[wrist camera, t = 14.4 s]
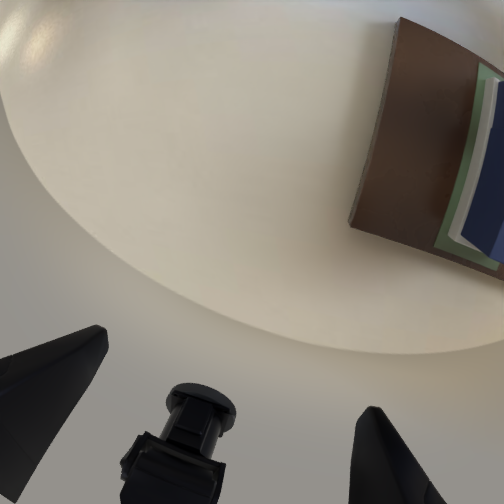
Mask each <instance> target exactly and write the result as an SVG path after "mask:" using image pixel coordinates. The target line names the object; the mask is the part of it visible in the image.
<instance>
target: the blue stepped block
mask: <svg viewBox="0 0 504 504" xmlns="http://www.w3.org/2000/svg"><path fill="white" fill-rule="evenodd" d="M448 236H449V237H450V238H451V239H453V240H454V241H455V242H458V243H460V244H463V245H465V246H468V247H470V248H472V249H475V250H477V251H480V252H482V253H484V254H485V255H486V256H487V257H488V258H490V259H493V260H495V261H497V262H499V263H502V264H504V81H500V80H499V79H497V78H496V77H492V78H488V79H486V81H485V90H484V97H483V104H482V111H481V117H480V122H479V127H478V132H477V137H476V142H475V146H474V150H473V155H472V159H471V163H470V166H469V170H468V174H467V177H466V181H465V184H464V188H463V191H462V194H461V197H460V200H459V203H458V206H457V209H456V212H455V215H454V218H453V221H452V224H451V226H450V229H449V232H448Z"/></svg>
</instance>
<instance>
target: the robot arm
mask: <svg viewBox="0 0 504 504" xmlns="http://www.w3.org/2000/svg"><path fill="white" fill-rule="evenodd" d="M108 348H109V344H108V335H107V330H106V329H105V328H103V327H101V326H99V325H93V326H90V327H87V328H85V329H82V330H79V331H77V332H74V333H71V334H69V335H66V336H63V337H60V338H57V339H55V340H52V341H50V342H46V343H44V344H41V345H38V346H35V347H33V348H30V349H27V350H24V351H21V352H19V353H16V354H13V356H12V355H10V356H7V357H4V358H2V359H0V494H1V495H3V496H4V497H6V498H7V499H9V500H10V501H12V502H13V503H16V502H17V500H18V498H19V497H20V495H21V493H22V491H23V490H24V488H25V486H26V484H27V483H28V481H29V479H30V477H31V476H32V474H33V472H34V471H35V469H36V467H37V465H38V464H39V462H40V460H41V459H42V457H43V455H44V454H45V452H46V451H47V449H48V447H49V446H50V444H51V443H52V441H53V439H54V438H55V436H56V435H57V433H58V432H59V430H60V428H61V427H62V425H63V424H64V422H65V421H66V419H67V418H68V416H69V415H70V413H71V412H72V410H73V409H74V407H75V406H76V404H77V402H78V401H79V400H80V398H81V397H82V395H83V394H84V392H85V391H86V389H87V388H88V386H89V385H90V383H91V381H92V380H93V378H94V376H95V374H96V372H97V370H98V368H99V366H100V365H101V363H102V361H103V359H104V357H105V355H106V354H107V352H108ZM230 411H231V409H230V408H229V407H226V406H223V405H219V404H216V403H213V402H210V401H207V400H204V399H201V398H198V397H195V396H192V395H189V394H186V393H183V392H181V391H178V390H173V392H172V394H171V415H170V417H169V419H168V421H167V423H166V425H165V427H164V429H163V431H162V433H161V435H160V437H159V438H157V437H155V436H153V435H151V434H150V433H149V432H147V431H145V433H144V434H143V435H138V436H137V438H136V440H135V442H134V444H133V445H132V447H131V448H130V449H129V451H128V452H127V453H126V454H125V456H124V457H123V458H122V459H121V461H120V465H121V468H122V471H121V473H122V474H121V480H123V481H125V484H124V486H123V488H122V490H121V493H120V501H121V504H217V502H218V499H219V496H220V493H221V488H222V483H223V478H224V472H225V467H226V464H225V463H222V462H221V463H220V462H217V461H214V460H211V457H212V454H213V451H214V448H215V445H216V442H217V439H218V437H222V435H223V433H224V430H225V427H226V423H227V420H228V417H229V414H230ZM348 504H447V503H446V502H445V501H444V499H443V498H442V497H441V495H440V494H439V493H438V491H437V490H436V488H435V487H434V485H433V484H432V482H431V481H429V478H428V476H427V475H426V473H425V472H424V471H423V469H422V468H421V466H420V464H419V463H418V462H417V460H416V458H415V457H414V456H413V454H412V453H411V451H410V450H409V448H408V447H407V445H406V444H405V442H404V441H403V439H402V438H401V436H400V435H399V433H398V432H397V431H396V429H395V428H394V426H393V425H392V423H391V422H390V420H389V419H388V418H387V416H386V414H385V413H384V412H383V410H382V409H381V408H380V407H375V406H369V407H367V409H366V410H365V411H364V412H363V414H362V415H361V416H360V417H359V419H358V421H357V423H356V427H355V436H354V443H353V451H352V457H351V467H350V487H349V502H348Z"/></svg>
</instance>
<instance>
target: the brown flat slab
mask: <svg viewBox="0 0 504 504" xmlns="http://www.w3.org/2000/svg"><path fill="white" fill-rule="evenodd" d="M492 77H496V78H497V79H499V80H500V81H504V73H503V72H501V71H500V70H499V69H497V68H496V67H494V66H493V65H491V64H490V63H488V62H487V61H485V60H484V59H482V58H481V57H479V56H477V55H476V54H474V53H473V52H471V51H469V50H468V49H466V48H464V47H462V46H461V45H459V44H457V43H455V42H453V41H452V40H450V39H448V38H446V37H444V36H442V35H440V34H438V33H436V32H434V31H432V30H430V29H428V28H426V27H423V26H421V25H419V24H417V23H414V22H412V21H410V20H407V19H405V18H403V17H400V18H399V19H398V21H397V22H396V24H395V31H394V37H393V43H392V49H391V55H390V60H389V65H388V71H387V76H386V81H385V85H384V90H383V95H382V99H381V104H380V108H379V112H378V116H377V121H376V125H375V129H374V133H373V137H372V140H371V144H370V148H369V152H368V155H367V159H366V163H365V166H364V170H363V173H362V177H361V180H360V184H359V187H358V190H357V194H356V197H355V200H354V203H353V207H352V210H351V213H350V216H349V219H348V223H349V225H350V227H352V228H355V229H359V230H362V231H365V232H368V233H371V234H374V235H378V236H381V237H384V238H387V239H390V240H393V241H396V242H399V243H402V244H405V245H408V246H411V247H414V248H417V249H420V250H423V251H426V252H428V253H431V254H434V255H437V256H440V257H443V258H445V259H448V260H451V261H454V262H456V263H459V264H462V265H464V266H467V267H470V268H472V269H475V270H478V271H480V272H483V273H485V274H488V275H491V276H493V277H496V278H498V279H501V280H503V281H504V264H502V263H499V262H497V261H495V260H493V259H490V258H488V257H487V256H486V255H485V254H484V253H482V252H480V251H477V250H475V249H472V248H470V247H468V246H465V245H463V244H460V243H458V242H455V241H454V240H453V239H451V238H450V237H449V236H448V232H449V229H450V226H451V224H452V221H453V218H454V215H455V212H456V209H457V206H458V203H459V200H460V197H461V194H462V191H463V188H464V184H465V181H466V177H467V174H468V170H469V166H470V163H471V159H472V155H473V150H474V146H475V142H476V137H477V132H478V127H479V122H480V117H481V111H482V104H483V97H484V90H485V81H486V79H488V78H492Z"/></svg>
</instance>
